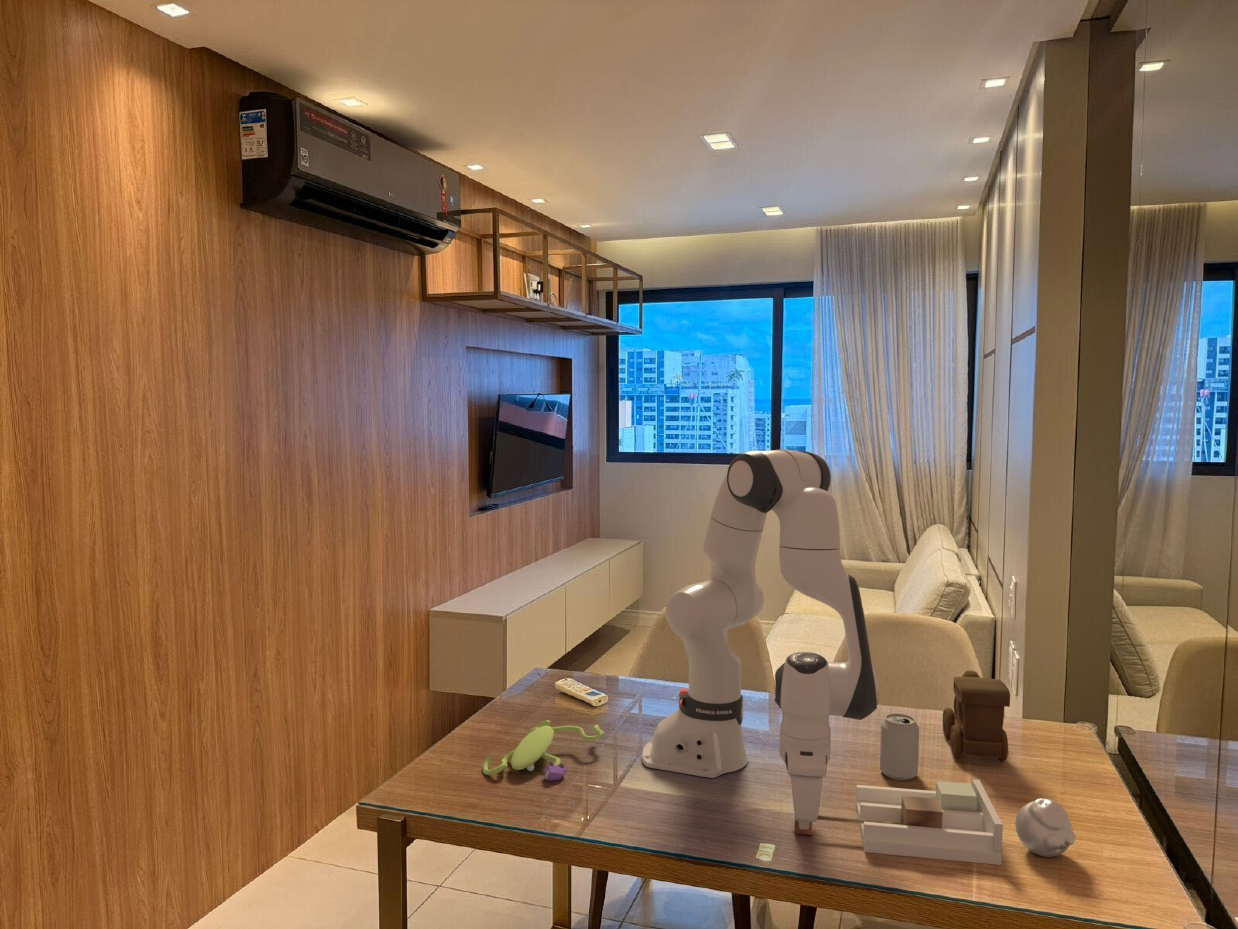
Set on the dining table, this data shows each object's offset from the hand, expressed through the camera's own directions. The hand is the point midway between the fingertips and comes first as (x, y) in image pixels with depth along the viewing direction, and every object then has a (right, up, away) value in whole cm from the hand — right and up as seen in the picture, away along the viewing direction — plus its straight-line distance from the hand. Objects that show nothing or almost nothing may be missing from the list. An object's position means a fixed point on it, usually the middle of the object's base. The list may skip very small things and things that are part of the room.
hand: (803, 822), depth 154 cm
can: (+25, 0, +24) cm, 35 cm away
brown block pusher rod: (+11, -2, -2) cm, 11 cm away
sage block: (+28, 0, +2) cm, 28 cm away
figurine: (-49, 0, +32) cm, 58 cm away
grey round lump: (+40, -3, -7) cm, 40 cm away
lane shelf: (+21, -2, 0) cm, 21 cm away
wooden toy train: (+45, 0, +37) cm, 58 cm away
